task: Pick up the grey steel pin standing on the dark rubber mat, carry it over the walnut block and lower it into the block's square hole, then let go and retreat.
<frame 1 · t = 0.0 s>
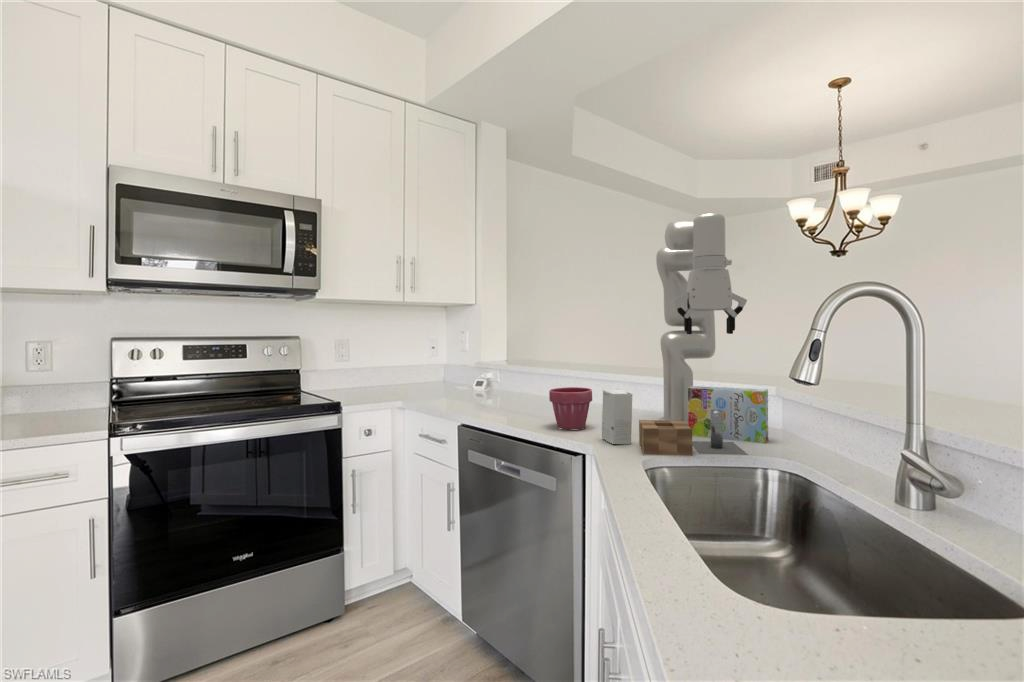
hand: (709, 333, 123), 31 cm above the worktop, tool pointing down, fingers open, 9 cm apart
hole block: (664, 450, 132), on the worktop
snack box: (727, 439, 145), on the worktop
plant pot: (571, 428, 164), on the worktop
mat: (716, 448, 133), on the worktop
skincare box: (617, 442, 143), on the worktop
pin: (716, 447, 133), resting on mat
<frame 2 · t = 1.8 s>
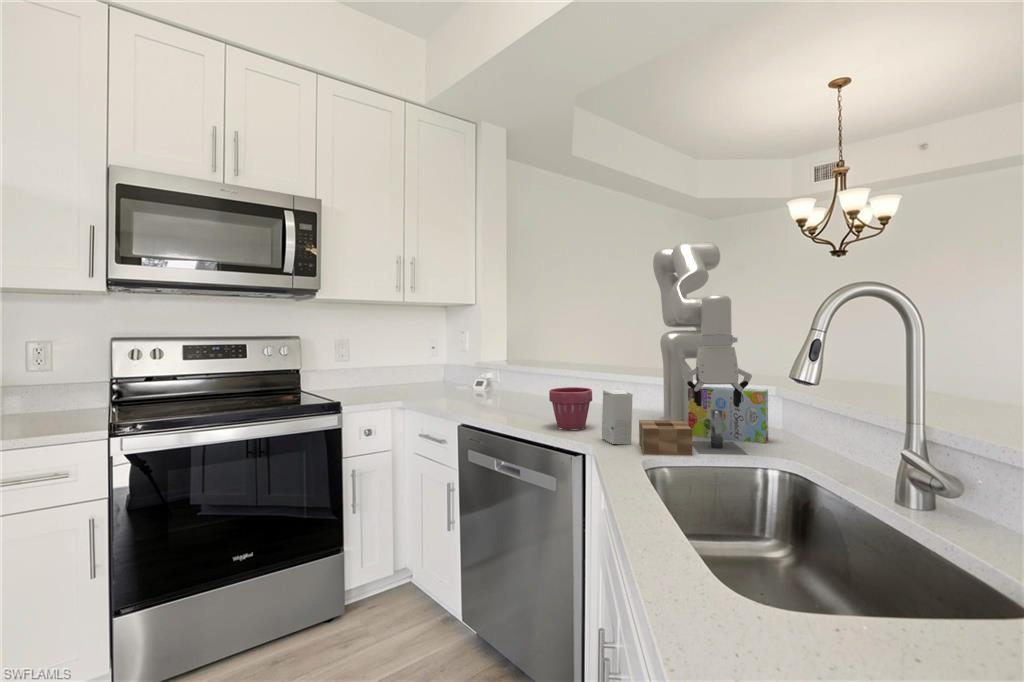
hand: (717, 405, 132), 12 cm above the worktop, tool pointing down, fingers open, 9 cm apart
nothing on the worktop moved.
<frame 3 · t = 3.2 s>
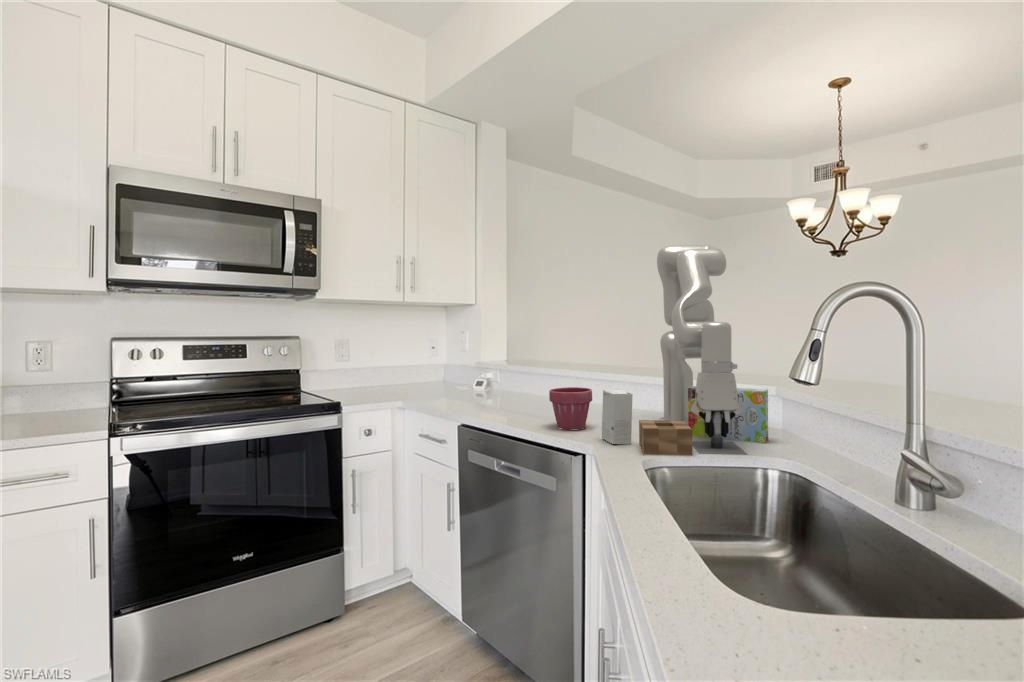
hand: (716, 435, 133), 4 cm above the worktop, tool pointing down, fingers closed on pin, 3 cm apart
pin: (716, 447, 133), resting on mat, touching gripper
everything else where it was.
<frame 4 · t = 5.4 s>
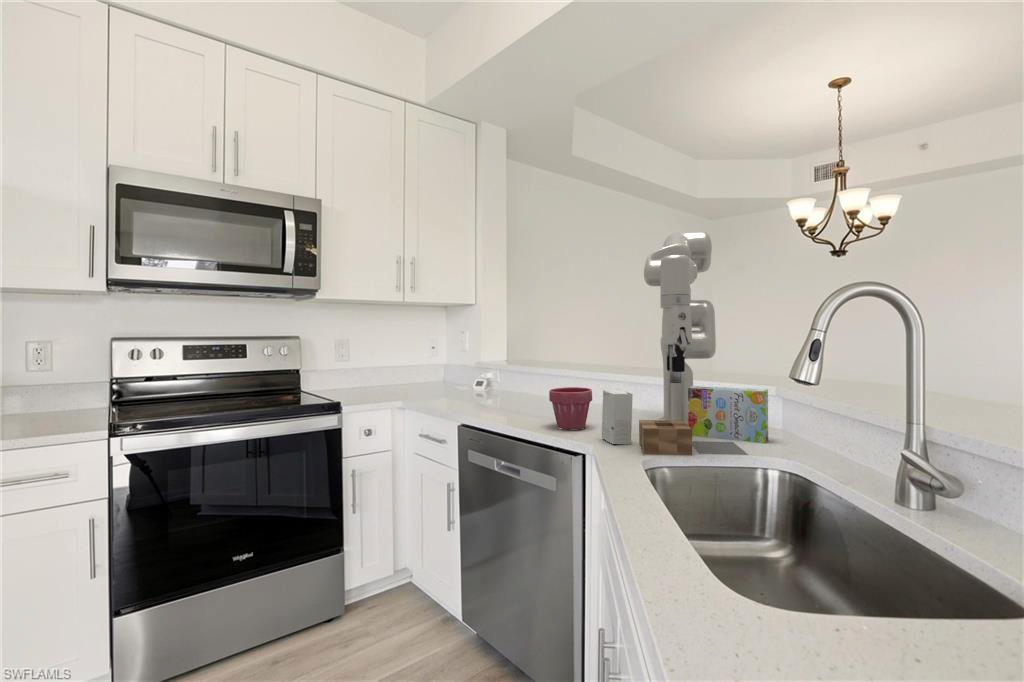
hand: (675, 370, 131), 21 cm above the worktop, tool pointing down, fingers closed on pin, 3 cm apart
pin: (675, 382, 131), point 18 cm above the worktop, touching gripper
everything else where it was.
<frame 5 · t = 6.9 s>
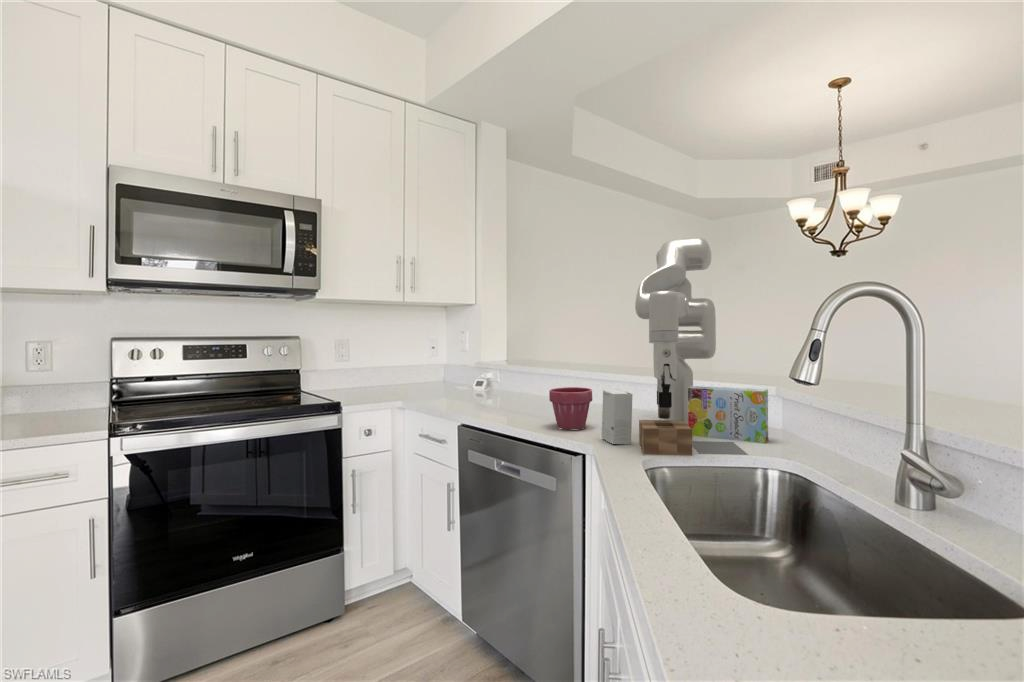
hand: (664, 405, 132), 12 cm above the worktop, tool pointing down, fingers closed on pin, 3 cm apart
pin: (664, 417, 132), point 9 cm above the worktop, touching gripper
everything else where it was.
when the fingers open (8 cm above the worktop, at t = 7.9 s): pin drops 5 cm, resting in hole block.
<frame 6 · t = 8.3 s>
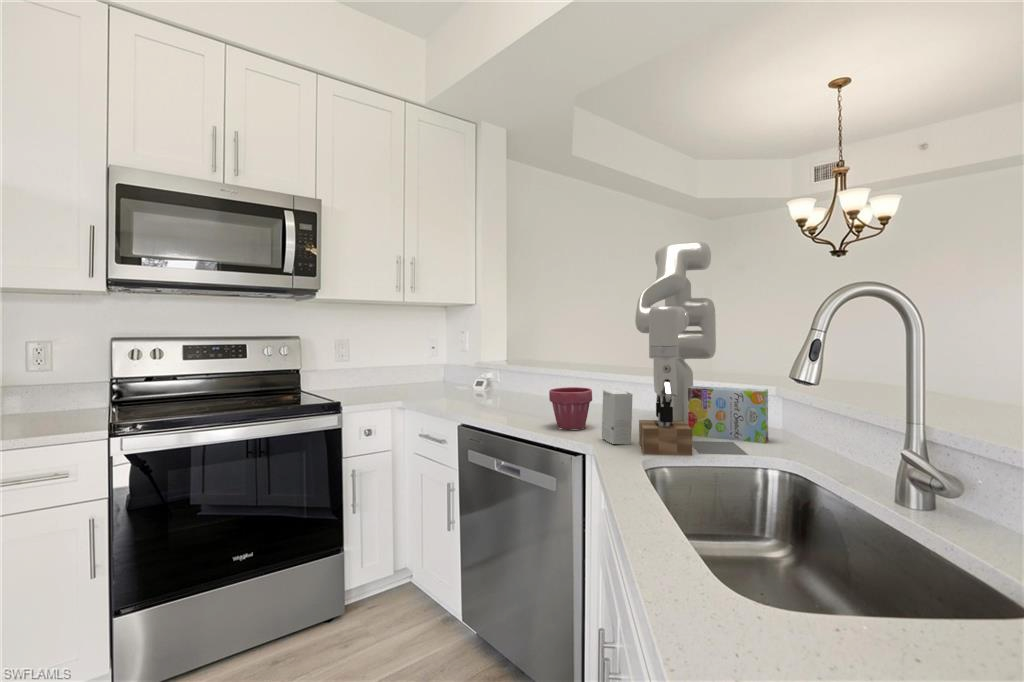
hand: (664, 418, 132), 8 cm above the worktop, tool pointing down, fingers open, 6 cm apart
pin: (664, 450, 132), resting in hole block
everything else where it was.
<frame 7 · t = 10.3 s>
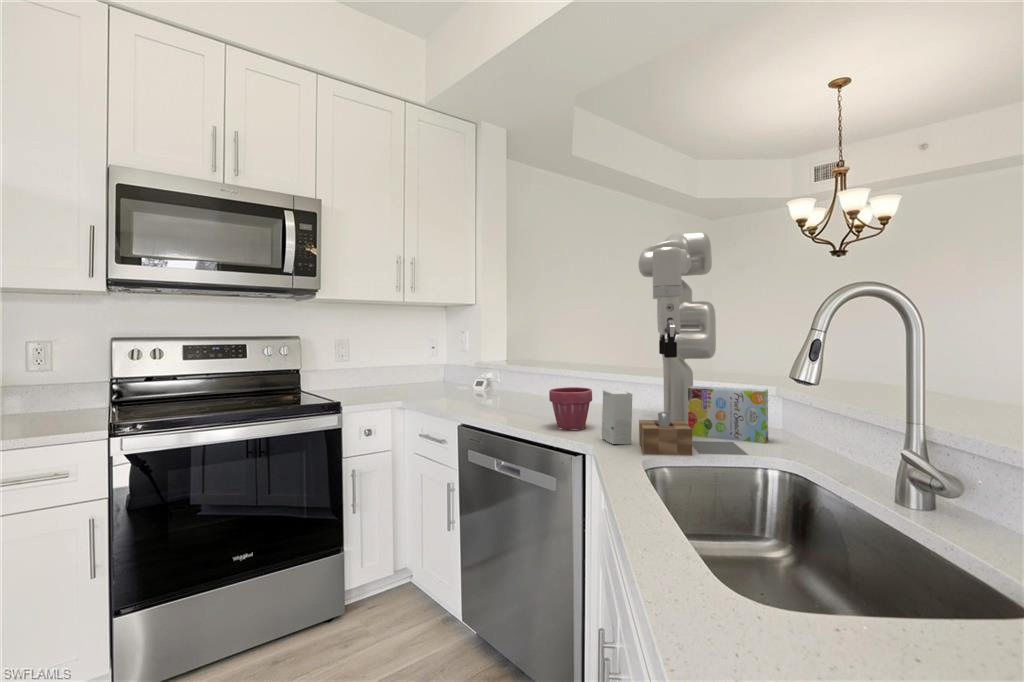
hand: (667, 355, 135), 25 cm above the worktop, tool pointing down, fingers open, 9 cm apart
nothing on the worktop moved.
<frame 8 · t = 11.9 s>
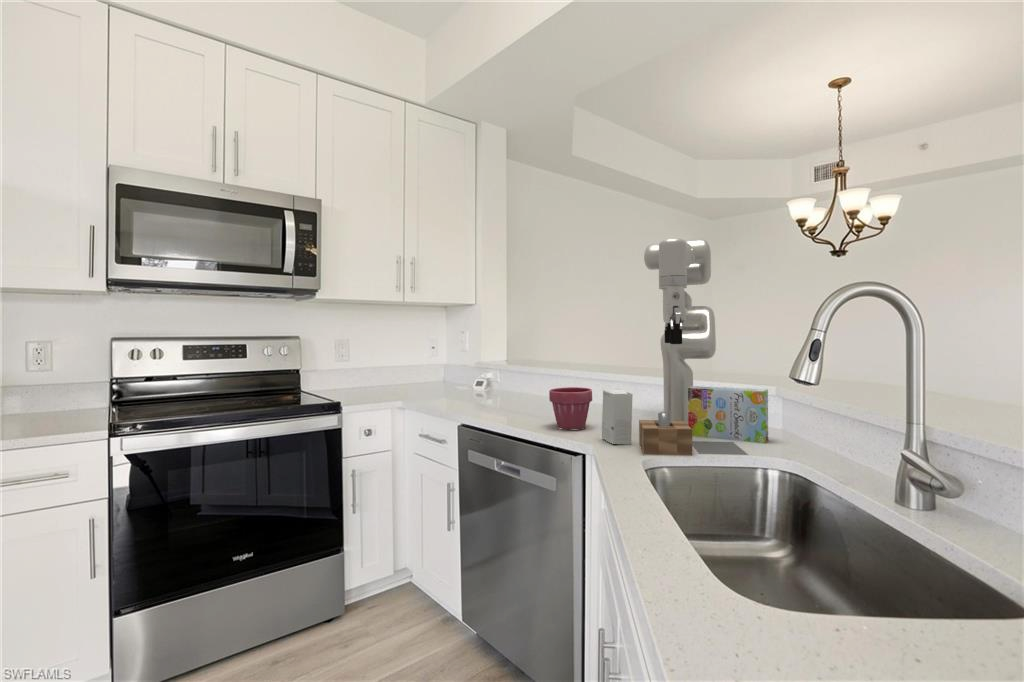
hand: (673, 343, 140), 28 cm above the worktop, tool pointing down, fingers open, 9 cm apart
nothing on the worktop moved.
at the end: pin 0.1 cm off-centre on the hole block, point 0.0 cm above the hole block's base; pin tilted 0°; the gripper is holding nothing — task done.
